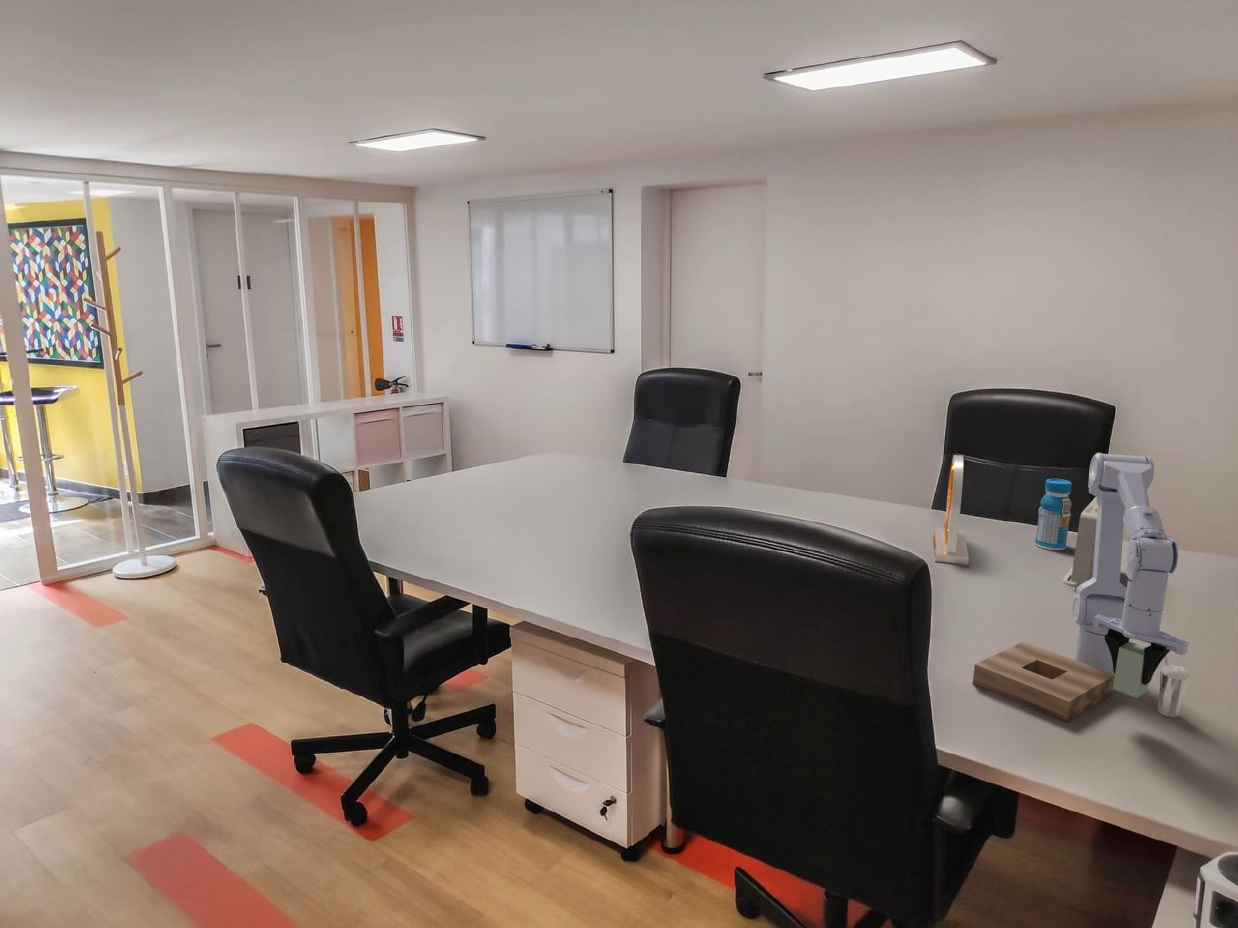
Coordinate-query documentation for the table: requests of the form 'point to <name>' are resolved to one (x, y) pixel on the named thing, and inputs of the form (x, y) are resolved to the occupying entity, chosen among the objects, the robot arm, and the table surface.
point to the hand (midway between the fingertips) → (1131, 677)
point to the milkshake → (1172, 689)
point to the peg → (1130, 670)
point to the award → (952, 521)
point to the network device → (1084, 547)
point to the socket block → (1044, 680)
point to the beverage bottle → (1054, 515)
